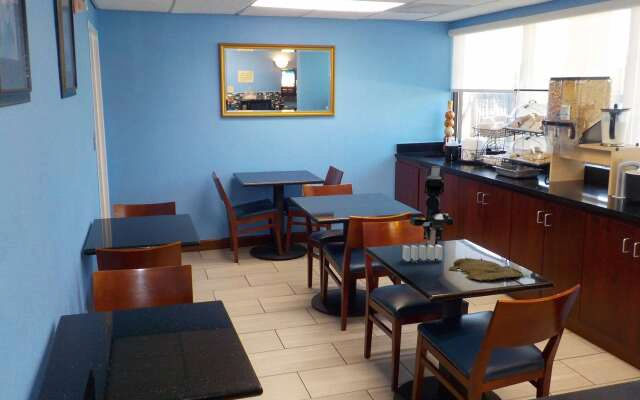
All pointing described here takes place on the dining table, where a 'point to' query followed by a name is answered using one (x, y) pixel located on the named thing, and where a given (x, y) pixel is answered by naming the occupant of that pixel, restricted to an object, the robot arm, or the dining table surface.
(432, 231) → the domino
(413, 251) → the domino
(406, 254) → the domino
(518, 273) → the bark
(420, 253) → the domino
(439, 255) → the domino
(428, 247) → the domino
